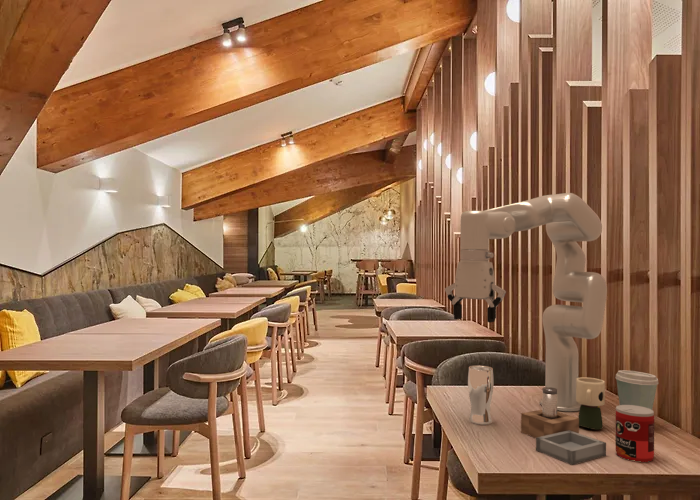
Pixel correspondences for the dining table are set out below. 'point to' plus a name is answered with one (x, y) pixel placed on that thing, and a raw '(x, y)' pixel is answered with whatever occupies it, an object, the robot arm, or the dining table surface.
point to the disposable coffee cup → (636, 388)
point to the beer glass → (480, 393)
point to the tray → (571, 447)
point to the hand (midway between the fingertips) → (474, 320)
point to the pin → (549, 403)
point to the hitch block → (547, 424)
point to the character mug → (590, 401)
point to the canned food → (635, 433)
